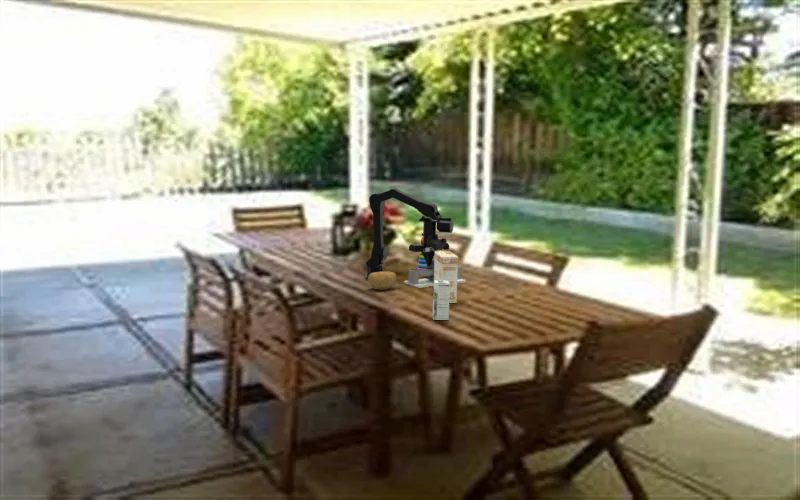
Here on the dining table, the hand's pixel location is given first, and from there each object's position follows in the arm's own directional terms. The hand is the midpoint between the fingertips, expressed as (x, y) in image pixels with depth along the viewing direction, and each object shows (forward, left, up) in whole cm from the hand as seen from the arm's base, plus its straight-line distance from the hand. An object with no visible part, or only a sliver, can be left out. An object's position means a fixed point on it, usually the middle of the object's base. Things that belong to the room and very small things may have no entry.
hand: (428, 265), depth 404 cm
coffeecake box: (-14, -32, -8) cm, 36 cm away
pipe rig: (+4, 0, -8) cm, 9 cm away
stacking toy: (+10, +17, -8) cm, 21 cm away
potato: (-25, -1, -8) cm, 27 cm away
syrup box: (-35, -58, -8) cm, 68 cm away
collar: (+3, 0, -7) cm, 7 cm away
